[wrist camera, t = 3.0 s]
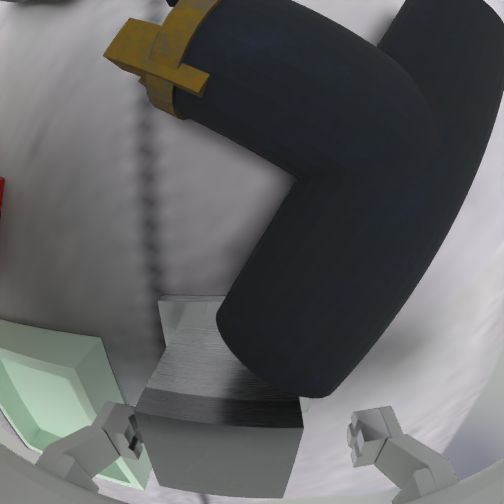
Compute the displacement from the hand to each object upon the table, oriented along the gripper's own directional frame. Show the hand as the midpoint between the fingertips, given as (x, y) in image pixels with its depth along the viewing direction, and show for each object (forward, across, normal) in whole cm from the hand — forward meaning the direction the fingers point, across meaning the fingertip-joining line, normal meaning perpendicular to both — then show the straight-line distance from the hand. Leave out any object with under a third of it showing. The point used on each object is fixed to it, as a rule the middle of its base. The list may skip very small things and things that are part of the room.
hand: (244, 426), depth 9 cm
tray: (+4, +14, +6) cm, 16 cm away
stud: (+4, 0, 0) cm, 4 cm away
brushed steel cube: (+4, +1, 0) cm, 4 cm away
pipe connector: (+4, -2, -11) cm, 12 cm away
